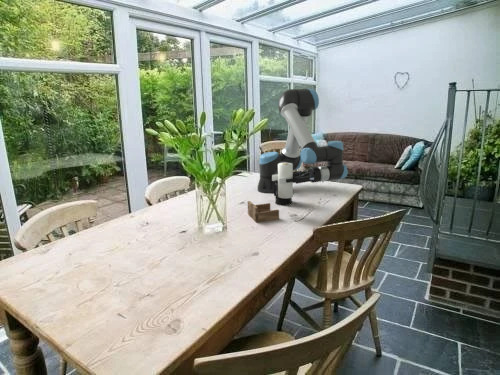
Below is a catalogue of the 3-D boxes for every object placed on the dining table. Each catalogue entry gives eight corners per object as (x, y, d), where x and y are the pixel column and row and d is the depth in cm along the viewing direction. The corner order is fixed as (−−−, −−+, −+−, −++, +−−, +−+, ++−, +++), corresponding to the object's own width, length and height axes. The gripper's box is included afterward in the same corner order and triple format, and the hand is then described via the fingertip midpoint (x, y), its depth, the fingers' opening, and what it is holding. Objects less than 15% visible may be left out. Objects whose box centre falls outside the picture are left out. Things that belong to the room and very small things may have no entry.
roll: (275, 195, 166) (275, 163, 162) (288, 193, 168) (288, 161, 164) (281, 199, 160) (281, 165, 155) (295, 197, 162) (295, 164, 158)
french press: (296, 202, 185) (296, 161, 179) (285, 206, 179) (284, 164, 173) (280, 198, 194) (280, 159, 188) (269, 202, 188) (268, 161, 182)
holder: (248, 214, 170) (247, 201, 168) (269, 211, 173) (269, 198, 171) (256, 222, 158) (255, 208, 156) (279, 219, 162) (278, 205, 160)
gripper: (328, 186, 159) (284, 192, 152) (307, 177, 177) (267, 182, 170) (329, 170, 157) (284, 176, 150) (308, 163, 175) (267, 168, 168)
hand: (275, 179), depth 160 cm, fingers closed on roll, 7 cm apart
